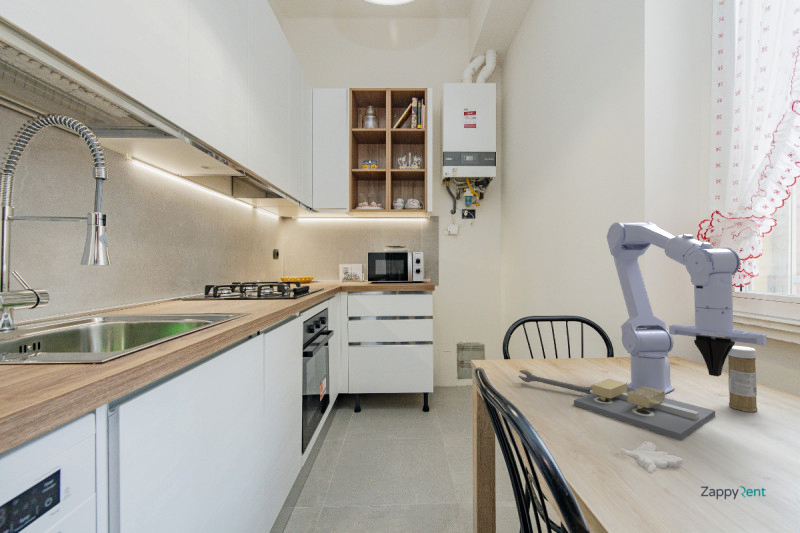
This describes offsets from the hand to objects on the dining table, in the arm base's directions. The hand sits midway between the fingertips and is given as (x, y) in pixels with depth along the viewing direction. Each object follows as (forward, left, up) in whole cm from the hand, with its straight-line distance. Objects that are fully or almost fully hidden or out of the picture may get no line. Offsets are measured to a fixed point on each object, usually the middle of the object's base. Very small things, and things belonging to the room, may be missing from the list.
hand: (715, 374), depth 70 cm
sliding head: (+7, -10, -8) cm, 14 cm away
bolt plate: (+6, -11, -9) cm, 16 cm away
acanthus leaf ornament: (+26, -2, -10) cm, 28 cm away
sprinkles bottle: (-13, +1, -10) cm, 16 cm away
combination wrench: (+8, -29, -9) cm, 32 cm away
